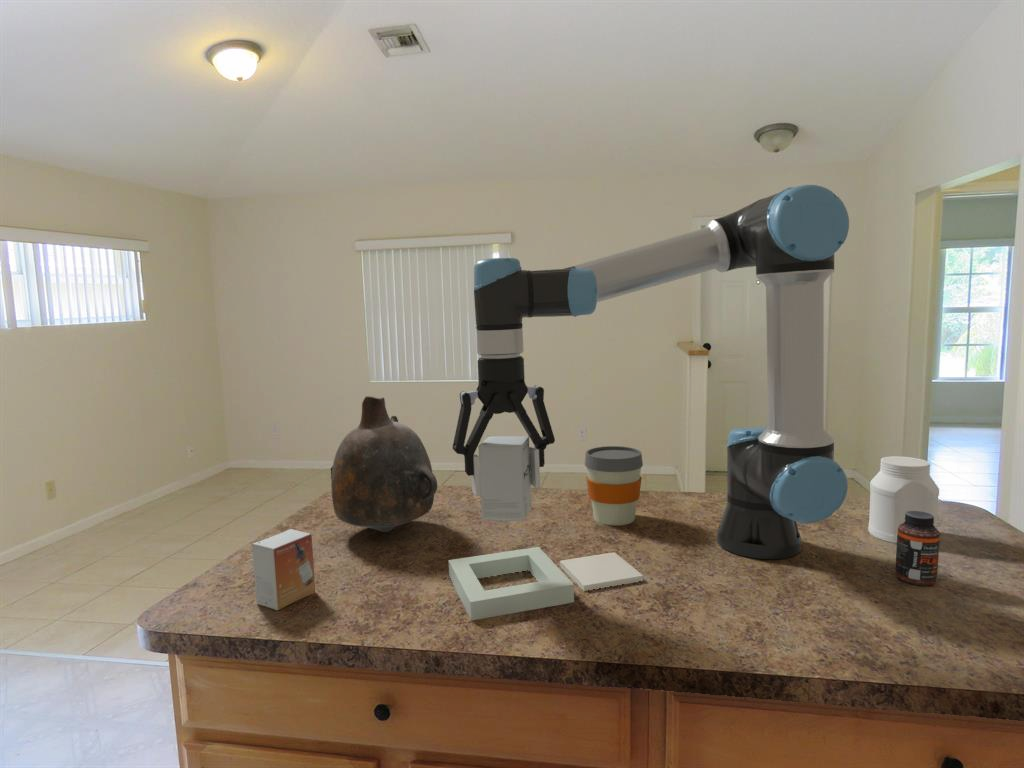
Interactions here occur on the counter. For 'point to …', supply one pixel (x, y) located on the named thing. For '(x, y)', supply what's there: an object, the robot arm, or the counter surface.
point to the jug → (381, 472)
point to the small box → (283, 569)
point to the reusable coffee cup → (614, 483)
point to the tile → (600, 571)
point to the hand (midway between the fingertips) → (506, 489)
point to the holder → (514, 598)
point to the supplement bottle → (917, 549)
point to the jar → (900, 495)
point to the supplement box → (505, 478)
